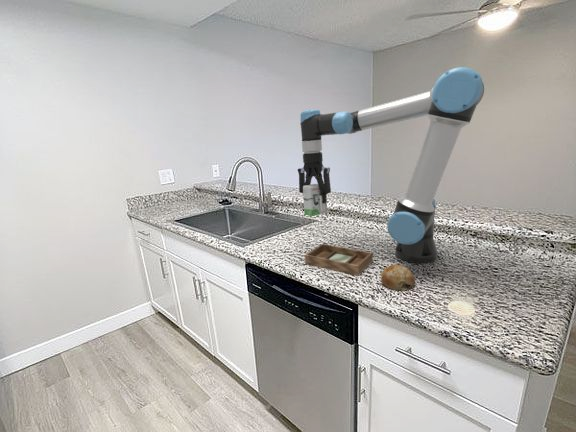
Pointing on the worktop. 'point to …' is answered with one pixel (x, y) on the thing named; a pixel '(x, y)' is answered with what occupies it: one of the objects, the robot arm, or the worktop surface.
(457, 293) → the worktop surface
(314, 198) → the ink box
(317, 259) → the tray
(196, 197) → the worktop surface
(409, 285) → the bread roll
